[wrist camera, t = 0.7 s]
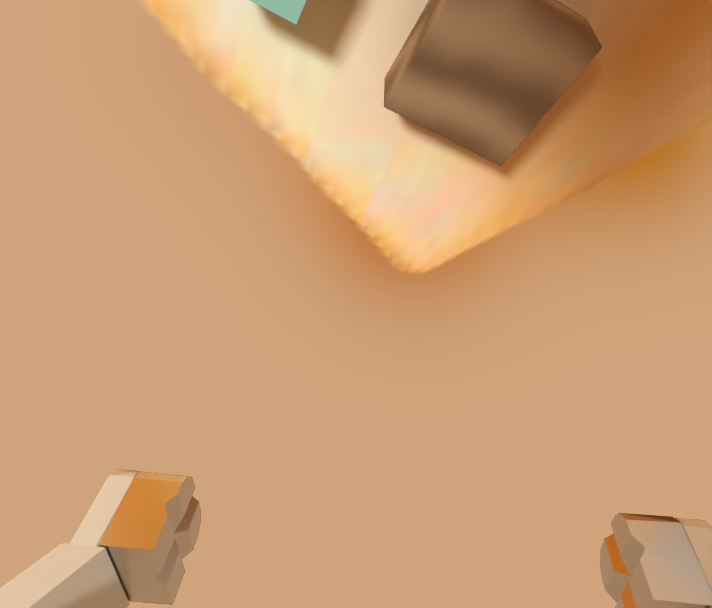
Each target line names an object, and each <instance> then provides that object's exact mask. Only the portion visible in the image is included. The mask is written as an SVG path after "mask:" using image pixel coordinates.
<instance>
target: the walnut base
mask: <svg viewBox="0 0 712 608" xmlns="http://www.w3.org/2000/svg"><path fill="white" fill-rule="evenodd" d="M601 48H602V46H601V45H600V43H599V41H598V39H597V37H596V35H595V33H594V32H593V30H592V28H591V26H590V24H589V22H588V21H587V20H586V19H585V18H583V17H582V16H580V15H579V14H577V13H576V12H574V11H573V10H571V9H569V8H568V7H566V6H565V5H563V4H562V3H560V2H559V1H557V0H429V2H428V4H427V5H426V7H425V9H424V11H423V12H422V14H421V16H420V18H419V19H418V21H417V23H416V25H415V26H414V28H413V30H412V32H411V33H410V35H409V37H408V39H407V40H406V42H405V44H404V45H403V47H402V49H401V51H400V52H399V54H398V56H397V58H396V59H395V61H394V63H393V65H392V66H391V68H390V70H389V72H388V73H387V75H386V77H385V90H384V107H385V108H387V109H389V110H391V111H393V112H395V113H397V114H399V115H401V116H403V117H405V118H407V119H409V120H411V121H413V122H415V123H417V124H419V125H421V126H423V127H425V128H427V129H429V130H431V131H433V132H435V133H437V134H439V135H441V136H443V137H444V138H446V139H448V140H450V141H452V142H454V143H456V144H458V145H460V146H462V147H464V148H466V149H468V150H470V151H472V152H474V153H476V154H478V155H480V156H482V157H484V158H486V159H488V160H490V161H492V162H494V163H496V164H498V165H500V166H501V165H502V164H503V163H504V162H505V161H506V160H507V158H508V157H509V156H510V155H511V154H512V153H513V151H514V150H515V149H516V148H517V147H518V146H519V144H520V143H521V142H522V141H523V140H524V138H525V137H526V136H527V135H528V134H529V133H530V131H531V130H532V129H533V128H534V127H535V126H536V124H537V123H538V122H539V121H540V120H541V119H542V117H543V116H544V115H545V114H546V113H547V111H548V110H549V109H550V108H551V107H552V106H553V104H554V103H555V102H556V101H557V100H558V99H559V97H560V96H561V95H562V94H563V93H564V92H565V90H566V89H567V88H568V87H569V86H570V85H571V83H572V82H573V81H574V80H575V79H576V77H577V76H578V75H579V74H580V73H581V72H582V70H583V69H584V68H585V67H586V66H587V65H588V63H589V62H590V61H591V60H592V59H593V58H594V56H595V55H596V54H597V53H598V52H599V50H600V49H601Z"/></svg>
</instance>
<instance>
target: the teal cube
mask: <svg viewBox="0 0 712 608" xmlns="http://www.w3.org/2000/svg"><path fill="white" fill-rule="evenodd" d="M250 1H252V2H254V3H256V4H258V5H260V6H262V7H263V8H265V9H267V10H269V11H271V12H273V13H275V14H277V15H279V16H280V17H282V18H284V19H286V20H288V21H290V22H292V23H294V24H295V25H296V24H297V22H298V20H299V17H300V15H301V12H302V10H303V7H304V5H305V3H306V0H250Z"/></svg>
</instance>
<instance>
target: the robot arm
mask: <svg viewBox="0 0 712 608" xmlns="http://www.w3.org/2000/svg"><path fill="white" fill-rule="evenodd" d="M194 490H195V485H194V482H193V478H192V477H189V476H179V475H170V474H161V473H151V472H142V471H133V470H122V469H116V470H115V471H114V472H113V473H112V474H111V475H109V476H108V478H107V480H106V482H105V483H104V485H103V487H102V488H101V490H100V492H99V494H98V495H97V497H96V499H95V501H94V502H93V504H92V506H91V508H90V509H89V511H88V513H87V514H86V516H85V518H84V520H83V521H82V523H81V525H80V527H79V528H78V530H77V532H76V534H75V535H74V537H73V539H72V541H71V542H70V543H62V544H60V545H59V546H58V547H56V548H55V549H54V550H52V551H51V552H49V553H48V554H47V555H45V556H44V557H43V558H41V559H40V560H38V561H37V562H36V563H34V564H33V565H31V566H30V567H29V568H27V569H26V570H25V571H23V572H22V573H21V574H19V575H18V576H16V577H15V578H14V579H12V580H11V581H10V582H8V583H7V584H5V585H4V586H3V587H1V588H0V608H126V607H128V606H129V604H130V603H129V601H131V602H143V603H157V604H170V605H172V604H173V602H174V600H175V597H176V594H177V592H178V589H179V586H180V584H181V581H182V579H183V576H184V573H185V569H184V566H183V562H182V559H183V558H184V557H185V556H186V555H187V554H189V553H190V552H191V551H192V550H193V549H194V546H195V543H196V540H197V537H198V534H199V528H200V523H201V508H200V504H199V501H198V500H196V499H195V498H194V497H193V496H192V494H193V492H194ZM611 526H612V529H613V533H614V534H612V535H610V536H608V537H606V538H605V539H604V542H603V545H602V548H601V554H600V567H601V575H602V579H603V583H604V587H605V590H606V591H607V592H608V593H609V595H610V596H611V597H612V598H613V599H614V600H615V601H616V602H617V605H616V607H615V608H712V527H711V525H709V523H708V522H707V521H704V520H699V519H683V518H673V517H668V516H655V515H641V514H627V513H619V514H617V515H615V517H614V519H613V521H612V523H611Z"/></svg>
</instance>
